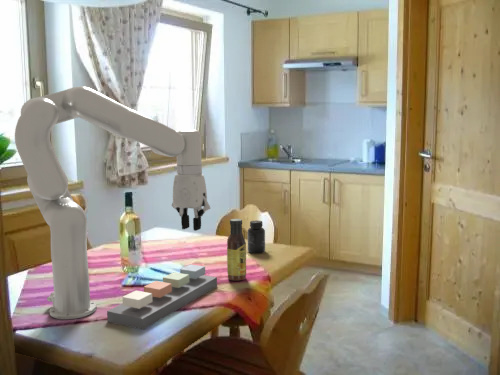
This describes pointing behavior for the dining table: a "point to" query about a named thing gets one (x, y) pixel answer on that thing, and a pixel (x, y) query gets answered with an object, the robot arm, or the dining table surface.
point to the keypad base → (161, 304)
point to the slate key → (193, 271)
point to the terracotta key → (158, 288)
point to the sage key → (176, 279)
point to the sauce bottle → (236, 252)
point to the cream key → (137, 299)
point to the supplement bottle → (256, 237)
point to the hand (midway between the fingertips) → (191, 228)
